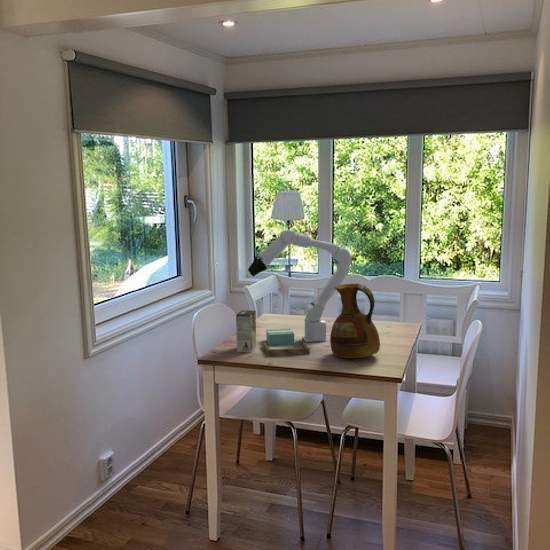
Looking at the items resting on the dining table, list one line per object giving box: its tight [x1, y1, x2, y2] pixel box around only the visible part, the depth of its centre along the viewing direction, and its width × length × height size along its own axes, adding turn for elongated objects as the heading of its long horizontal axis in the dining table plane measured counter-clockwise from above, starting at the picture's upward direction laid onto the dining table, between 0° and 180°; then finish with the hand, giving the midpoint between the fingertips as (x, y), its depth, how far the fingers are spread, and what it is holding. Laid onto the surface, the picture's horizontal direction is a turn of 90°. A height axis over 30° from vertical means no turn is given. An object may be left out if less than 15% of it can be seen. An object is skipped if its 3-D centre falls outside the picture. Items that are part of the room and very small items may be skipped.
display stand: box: [262, 339, 311, 357], centre depth 250 cm, size 17×14×2 cm
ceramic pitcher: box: [329, 283, 381, 359], centre depth 239 cm, size 20×20×30 cm
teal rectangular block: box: [265, 328, 295, 346], centre depth 263 cm, size 11×9×5 cm
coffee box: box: [235, 309, 257, 354], centre depth 251 cm, size 9×6×16 cm
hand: (250, 273), depth 258 cm, fingers open, 7 cm apart
